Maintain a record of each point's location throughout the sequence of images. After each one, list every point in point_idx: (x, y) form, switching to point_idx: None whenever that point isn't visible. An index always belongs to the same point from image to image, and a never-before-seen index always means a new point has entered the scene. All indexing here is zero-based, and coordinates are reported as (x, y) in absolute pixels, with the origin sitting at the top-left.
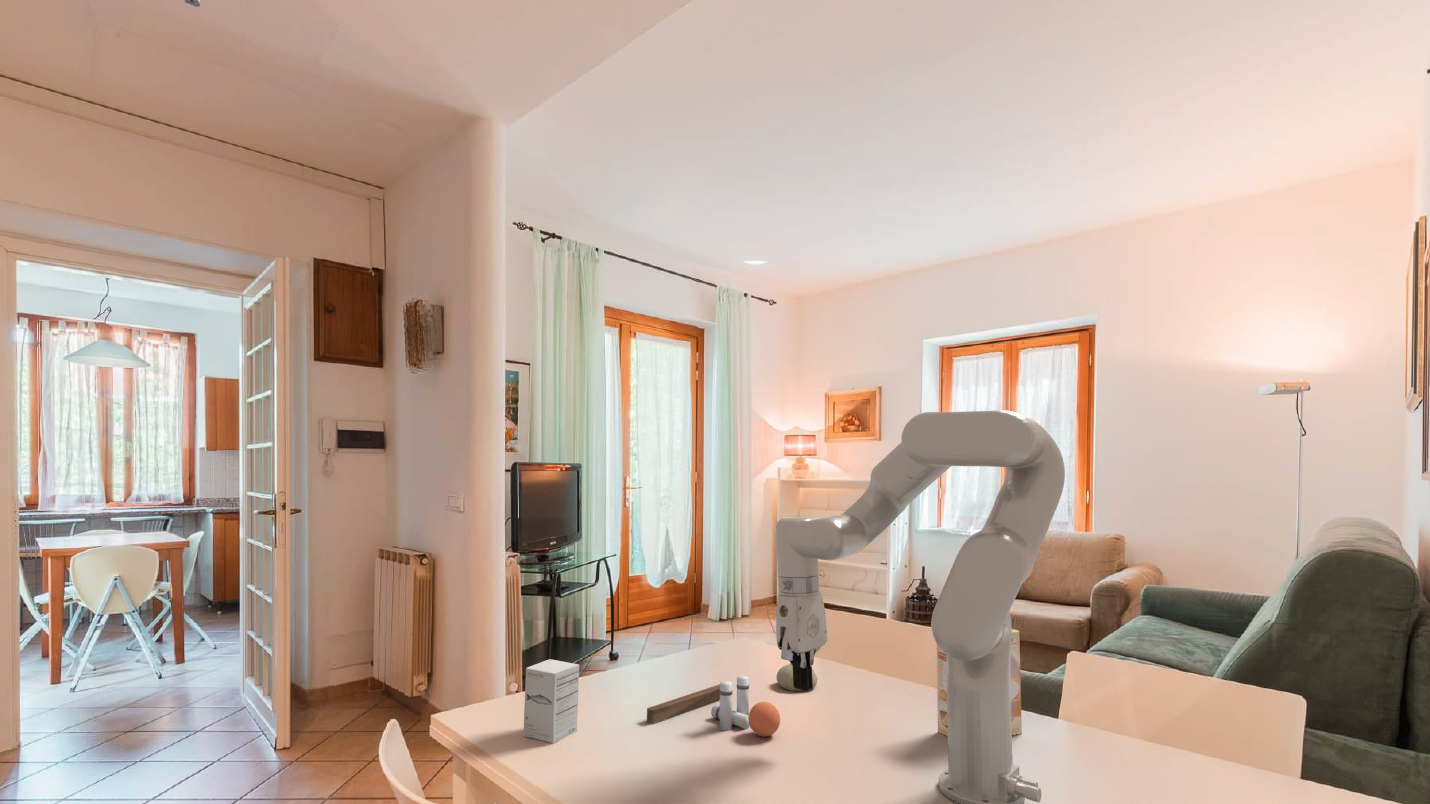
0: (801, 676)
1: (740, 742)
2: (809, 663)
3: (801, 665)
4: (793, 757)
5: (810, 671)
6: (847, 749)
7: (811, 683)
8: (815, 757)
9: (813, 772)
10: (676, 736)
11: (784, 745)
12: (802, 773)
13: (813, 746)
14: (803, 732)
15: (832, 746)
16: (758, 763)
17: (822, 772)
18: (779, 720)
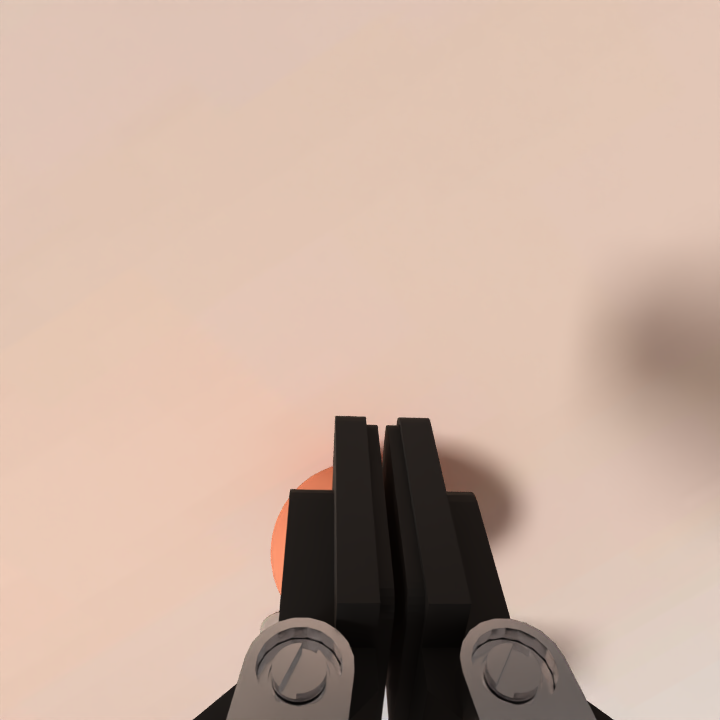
0: (488, 556)
1: (492, 517)
2: (351, 659)
3: (564, 672)
4: (493, 255)
5: (372, 549)
6: (182, 74)
7: (359, 445)
8: (417, 164)
9: (608, 56)
10: (590, 687)
11: (390, 369)
12: (652, 101)
13: (295, 255)
14: (179, 391)
15: (215, 173)
16: (655, 340)
17: (579, 11)
18: (328, 488)
